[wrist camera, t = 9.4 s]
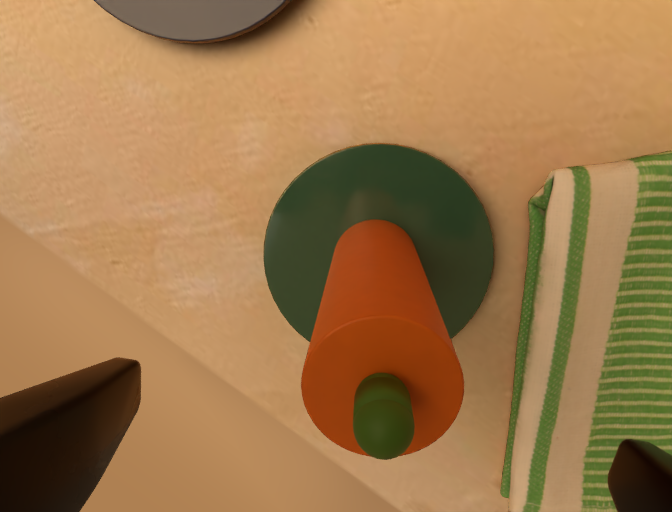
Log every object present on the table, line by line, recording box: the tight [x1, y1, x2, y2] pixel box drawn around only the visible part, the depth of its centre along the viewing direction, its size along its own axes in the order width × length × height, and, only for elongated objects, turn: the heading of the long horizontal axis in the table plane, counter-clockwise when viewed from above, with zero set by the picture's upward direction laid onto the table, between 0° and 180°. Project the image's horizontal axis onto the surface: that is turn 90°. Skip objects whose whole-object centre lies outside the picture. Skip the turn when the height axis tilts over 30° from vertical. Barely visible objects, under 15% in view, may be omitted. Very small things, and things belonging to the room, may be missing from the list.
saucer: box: [264, 143, 494, 342], centre depth 20 cm, size 10×10×1 cm
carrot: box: [301, 219, 464, 460], centre depth 14 cm, size 4×4×12 cm
